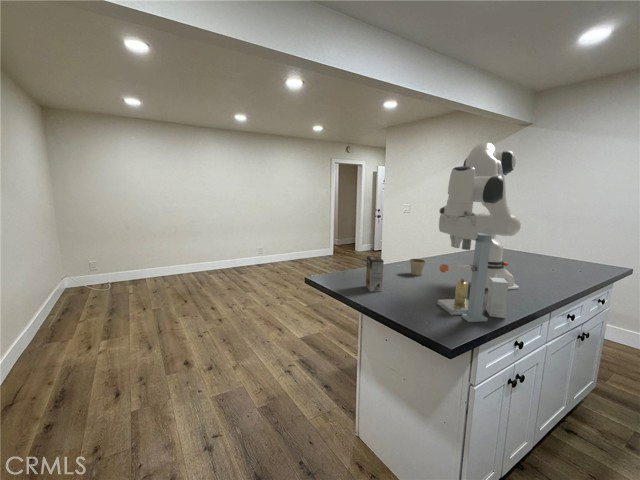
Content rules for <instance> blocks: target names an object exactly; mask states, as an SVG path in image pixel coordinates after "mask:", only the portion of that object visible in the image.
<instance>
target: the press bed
mask: <svg viewBox="0 0 640 480" xmlns="http://www.w3.org/2000/svg"><path fill="white" fill-rule="evenodd" d="M454 302H455V298H453V299H450V298H449V299H448V298H447V299H446V298H445V299H437V305H438V306H440V308H442V309H443V310H445V311H446V312H448V313H449V315H452V316H462V314H467V313H468V304H469V298H467V301H466V306H463V307H462V306H457V305H455V304H454ZM484 314H485V309H484V308H483V309H482V315H484Z"/></svg>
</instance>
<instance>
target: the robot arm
mask: <svg viewBox="0 0 640 480" xmlns="http://www.w3.org/2000/svg"><path fill="white" fill-rule="evenodd" d="M516 162H517V160H516V156H515V153H514V152H513V151H512V150H503V151H497V149H496V147H495V145H494V144H492V143H491V142H485V141H484V142H481V143H479V144H477V145H476V146H474V148H473V149H471V151H470V152H469V154H468V155H467V157H466V158H465V159H464V161H463V164H462V165H461V166H455V167H453V168H452V169H451V173H450V176H449V180H448V187H447V188H448V189H447V190H448V191H447V194H448V198H447V201H446V205H444V206H443V207H440V208H439V214H440V215H439V218H438V229H439V232H440V233H444V234H447V235H449V238H450V239H449V240H450V242H451V244H450V247H452V248H455V249H460V248H461V244H462V242H463V238H464V239H471V241H473V240H472V239H476V238H477V236H478V233H482V234H487V235H491V243H490V251H489V259H488V268H487V276H486V284H485V289H487V290H488V285H489V277H493V278H504V279H505V280H506V281H507V282H508V283H509V284H508V291H509V290H519V289H520V287H519V285H518V284H516V283H515V277H514V275H513V274H511V273H510V271H508V270H507V269H506V268H505V267H508V266H510V264H509V262H506V261H503V253H504V246H503V244H502V243H501V242H500V241H499V240H498V238H497V236H499V237H510V236H511V237H513V236H516V235H517V234H518V233H519V232H520V230H521V227H522V226H521V224H522V223H521V220H520V219H519V218H518V217H517V216H515V214H514V213H513V212H512V210H511V209H510V207H509V205H508V201H507V194H506V192H507V191H506V189H507V188H506V177H505V176H507V175H508V174H509V173H512V172H513V171H514V169H515V167H516ZM474 203H481V205H482V206H483V207H485V209H486V210H487V211H488V212H479V213H477V212H476V213H475V212H473V208H474V207H473V206H474Z"/></svg>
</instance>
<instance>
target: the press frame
mask: <svg viewBox="0 0 640 480" xmlns="http://www.w3.org/2000/svg"><path fill="white" fill-rule="evenodd" d="M472 241H475V244H474V252H473V262H472V265H473V266H475V267H477V270H476V271H475V272H474V271H471V277H470V278H471V280H470V287H469V288H470V289H469V297H468V300H469V304H468V313H467V314H462V315H461V319H464V320H465V321H466V322H469V323H474V322H478V323H479V322H488V320H489V318H488V317H487V316H485V315H484V314H482V309H484V308H483V307H484V300H485V299H484V298H485V291H486V288H485V284H486V276H487V268H488V259H489V251H490V243H491V235H487V234H482V233H478V236H477V238H476V239H472V240H471V239H464V238H463V240H462V241H461V250H466V251H469V250H471V246H472Z"/></svg>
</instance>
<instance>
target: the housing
mask: <svg viewBox="0 0 640 480" xmlns="http://www.w3.org/2000/svg"><path fill="white" fill-rule="evenodd" d="M468 290H469V281H466V280H465V278H461V279H460V280H456V284H455V294H454V299H455V302H454V304H455V305H457V306H462V307H463V306H466V301H467V299H468Z"/></svg>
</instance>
